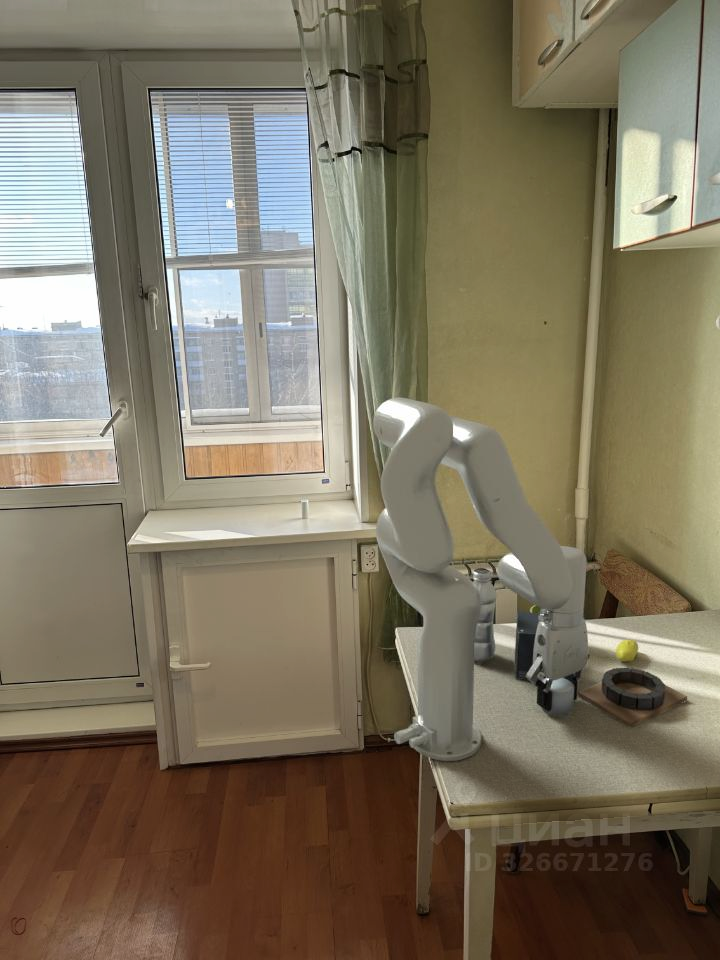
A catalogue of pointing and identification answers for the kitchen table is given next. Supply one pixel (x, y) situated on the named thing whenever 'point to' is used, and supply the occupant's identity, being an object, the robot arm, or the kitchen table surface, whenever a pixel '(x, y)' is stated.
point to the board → (625, 714)
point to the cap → (561, 697)
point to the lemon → (627, 650)
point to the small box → (525, 642)
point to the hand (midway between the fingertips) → (556, 701)
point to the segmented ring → (632, 699)
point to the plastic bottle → (484, 615)
